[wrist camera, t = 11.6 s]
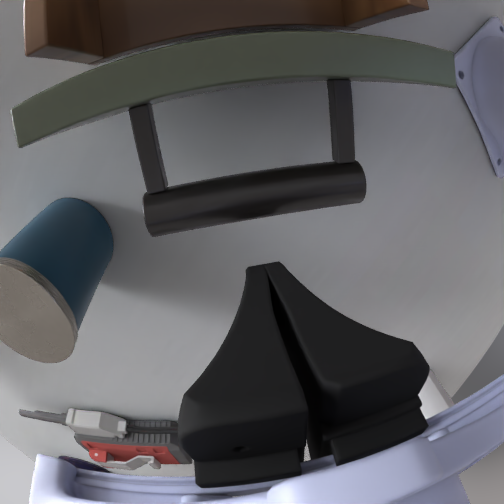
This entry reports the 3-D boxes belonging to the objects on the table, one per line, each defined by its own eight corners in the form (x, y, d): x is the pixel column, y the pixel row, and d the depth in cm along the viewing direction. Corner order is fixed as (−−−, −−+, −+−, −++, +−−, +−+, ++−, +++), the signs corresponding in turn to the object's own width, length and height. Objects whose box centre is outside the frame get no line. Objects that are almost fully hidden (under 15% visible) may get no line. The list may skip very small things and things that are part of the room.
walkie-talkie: (183, 407, 23) (17, 396, 21) (183, 451, 19) (7, 427, 17) (203, 443, 27) (56, 434, 26) (205, 477, 23) (50, 461, 22)
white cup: (417, 397, 29) (447, 458, 21) (376, 407, 28) (406, 478, 19) (445, 362, 26) (485, 428, 18) (405, 371, 25) (446, 450, 16)
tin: (131, 231, 14) (92, 319, 9) (93, 291, 16) (57, 378, 10) (57, 177, 12) (-20, 237, 6) (28, 246, 13) (-29, 318, 8)
